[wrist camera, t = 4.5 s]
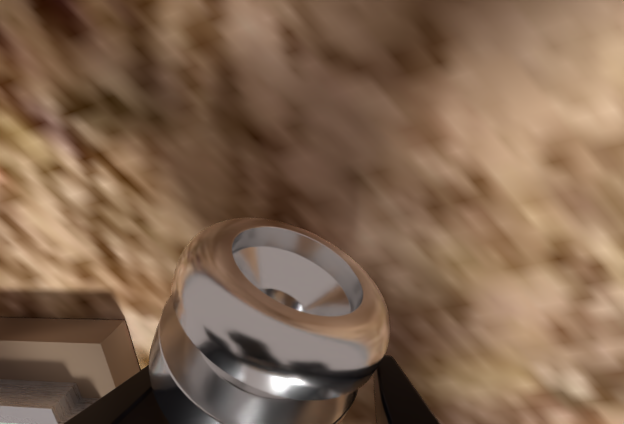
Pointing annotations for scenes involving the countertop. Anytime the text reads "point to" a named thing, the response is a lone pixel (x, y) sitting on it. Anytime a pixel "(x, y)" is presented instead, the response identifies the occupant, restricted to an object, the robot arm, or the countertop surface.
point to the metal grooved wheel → (265, 328)
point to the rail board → (67, 352)
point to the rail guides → (40, 402)
